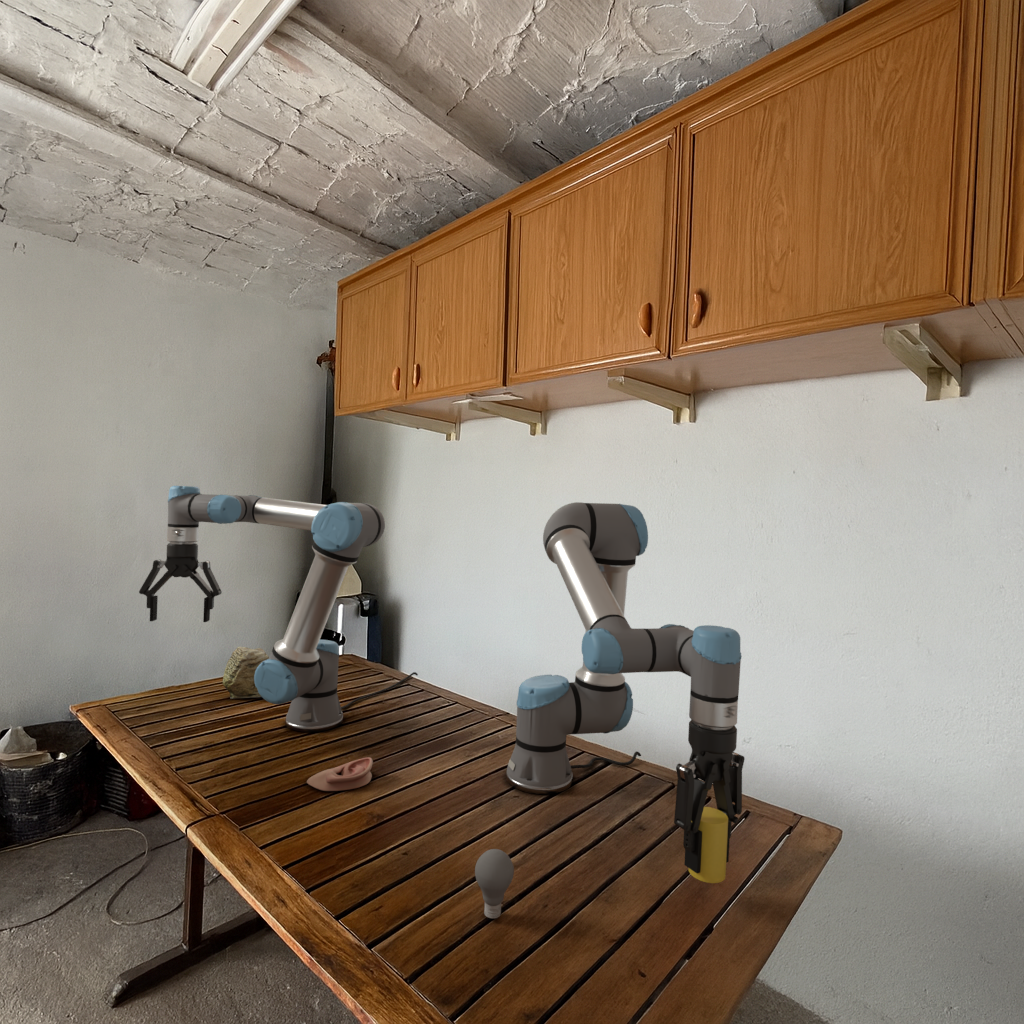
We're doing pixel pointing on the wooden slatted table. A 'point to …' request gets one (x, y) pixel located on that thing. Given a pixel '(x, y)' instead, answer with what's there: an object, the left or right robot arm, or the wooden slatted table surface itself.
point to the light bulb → (494, 879)
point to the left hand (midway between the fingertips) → (180, 620)
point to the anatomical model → (343, 776)
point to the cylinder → (713, 846)
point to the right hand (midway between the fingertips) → (706, 863)
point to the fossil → (243, 672)
